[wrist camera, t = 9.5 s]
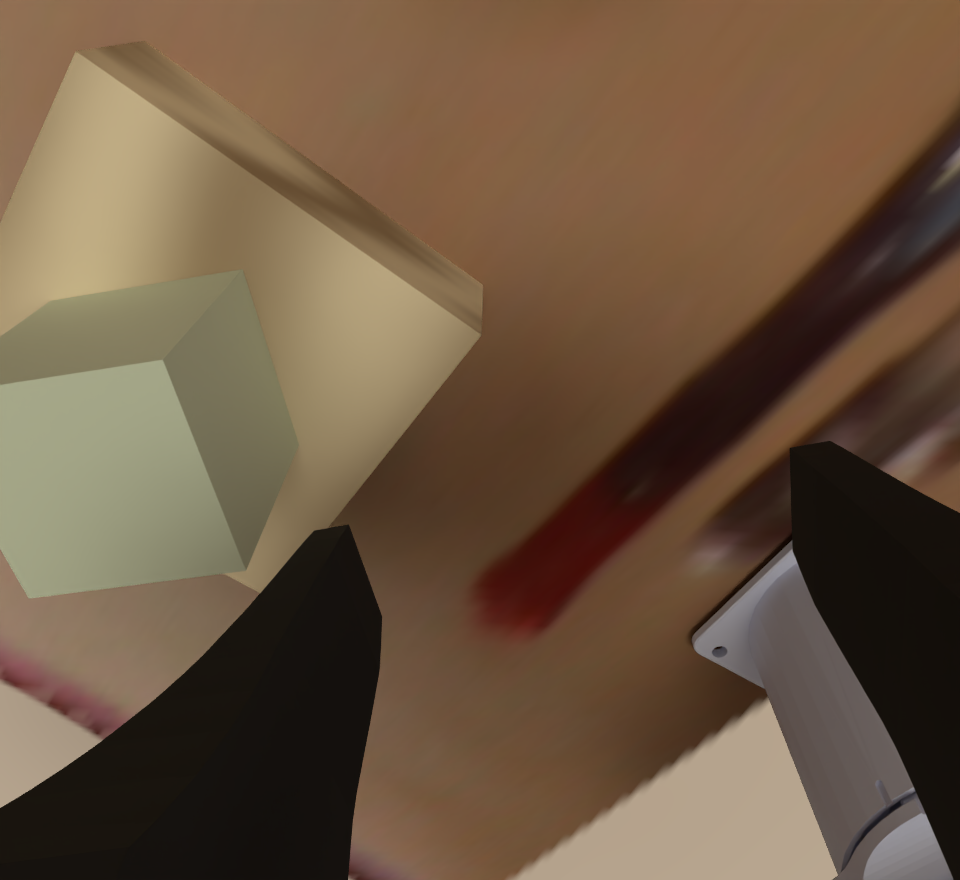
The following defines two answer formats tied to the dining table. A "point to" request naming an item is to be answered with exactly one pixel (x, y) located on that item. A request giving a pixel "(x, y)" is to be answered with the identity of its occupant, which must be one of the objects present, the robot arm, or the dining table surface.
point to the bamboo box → (241, 264)
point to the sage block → (139, 436)
